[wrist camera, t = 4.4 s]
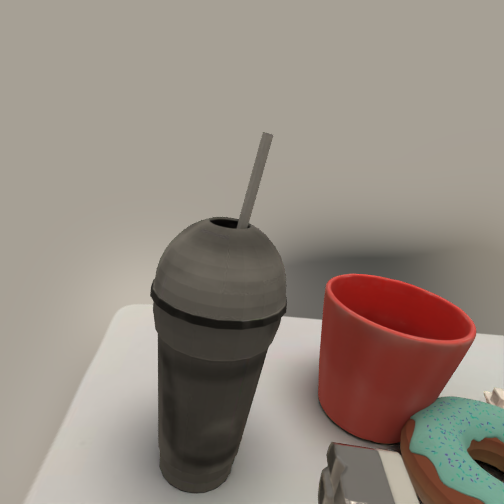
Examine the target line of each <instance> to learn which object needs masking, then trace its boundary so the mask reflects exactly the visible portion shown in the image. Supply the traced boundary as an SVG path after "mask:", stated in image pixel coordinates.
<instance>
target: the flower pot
mask: <svg viewBox="0 0 504 504" xmlns="http://www.w3.org/2000/svg"><path fill="white" fill-rule="evenodd" d="M475 336H476V327H475V325H474V323H473V321H472V320H471V319H470V318H469V316H468V315H467V314H466V313H465V312H463V311H462V310H461V309H460V308H459V307H457V306H456V305H454V304H452V303H451V302H449V301H447V300H446V299H444V298H442V297H440V296H438V295H435V294H434V293H431V292H429V291H426V290H424V289H422V288H419V287H416V286H414V285H411V284H408V283H405V282H401V281H398V280H393V279H389V278H384V277H379V276H373V275H364V274H346V275H340V276H337V277H334V278H332V279H330V280H329V281H328V282H327V285H326V289H325V298H324V307H323V319H322V331H321V344H320V359H319V386H318V396H319V401H320V404H321V406H322V408H323V409H324V411H325V412H326V414H327V415H328V416H329V417H330V418H331V419H332V420H333V421H334V422H335V423H336V424H337V425H338V426H340V427H341V428H343V429H344V430H346V431H347V432H349V433H351V434H353V435H355V436H357V437H359V438H362V439H366V440H371V441H373V442H376V443H383V444H393V443H398V442H400V441H401V430H402V428H403V426H404V425H405V423H406V422H407V420H408V419H410V417H411V416H413V415H414V414H415V413H417V412H419V411H420V410H423V409H425V408H426V407H428V406H430V405H431V404H432V403H434V402H435V401H436V399H437V398H438V396H439V395H440V393H441V392H442V390H443V388H444V387H445V385H446V384H447V382H448V381H449V379H450V378H451V376H452V375H453V373H454V372H455V370H456V369H457V367H458V366H459V364H460V362H461V361H462V359H463V358H464V356H465V355H466V353H467V351H468V350H469V348H470V346H471V345H472V343H473V341H474V339H475Z"/></svg>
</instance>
